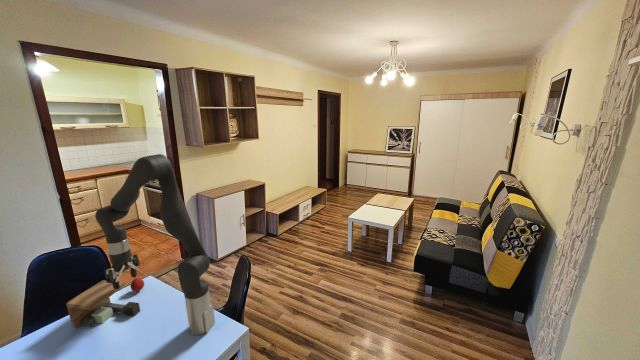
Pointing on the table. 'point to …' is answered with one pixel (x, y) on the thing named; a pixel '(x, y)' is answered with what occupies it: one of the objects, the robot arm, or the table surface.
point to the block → (102, 315)
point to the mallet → (127, 309)
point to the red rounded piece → (137, 284)
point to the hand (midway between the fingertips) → (126, 282)
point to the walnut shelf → (90, 301)
